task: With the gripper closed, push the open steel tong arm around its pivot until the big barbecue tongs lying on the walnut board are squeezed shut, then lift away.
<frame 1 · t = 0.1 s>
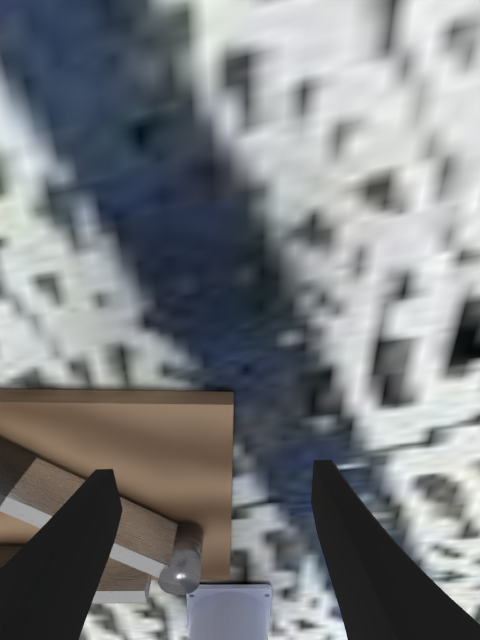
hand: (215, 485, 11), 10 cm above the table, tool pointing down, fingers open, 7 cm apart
tong arm: (81, 511, 21), point 3 cm above the table, hinge at -35.0°
fixed tong arm: (186, 531, 24), resting on walnut board
walnut board: (80, 486, 25), on the table
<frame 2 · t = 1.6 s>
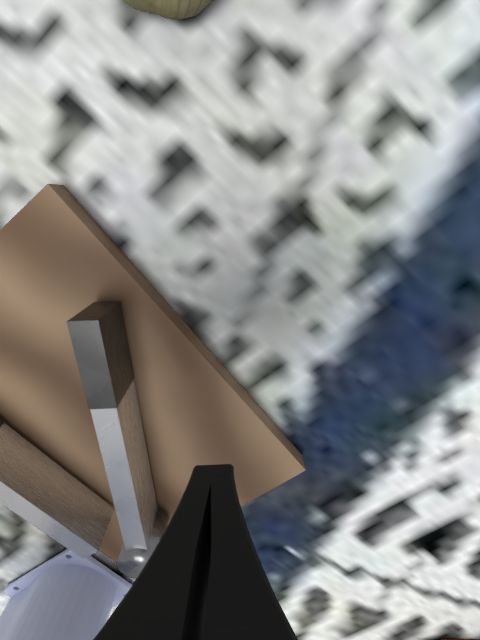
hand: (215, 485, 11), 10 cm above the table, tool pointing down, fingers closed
tong arm: (126, 453, 19), point 3 cm above the table, hinge at -35.0°
fixed tong arm: (151, 515, 24), resting on walnut board
walnut board: (106, 412, 22), on the table
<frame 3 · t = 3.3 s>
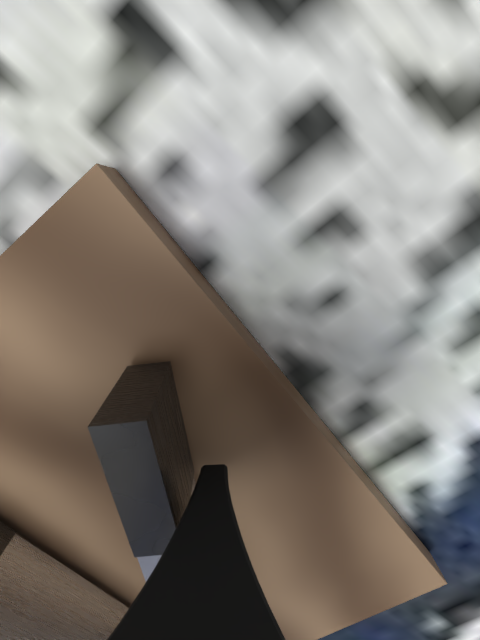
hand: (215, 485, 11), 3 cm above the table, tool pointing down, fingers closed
tong arm: (189, 588, 12), point 3 cm above the table, hinge at -30.7°, touching gripper
fixed tong arm: (219, 639, 17), resting on walnut board
walnut board: (160, 502, 15), on the table
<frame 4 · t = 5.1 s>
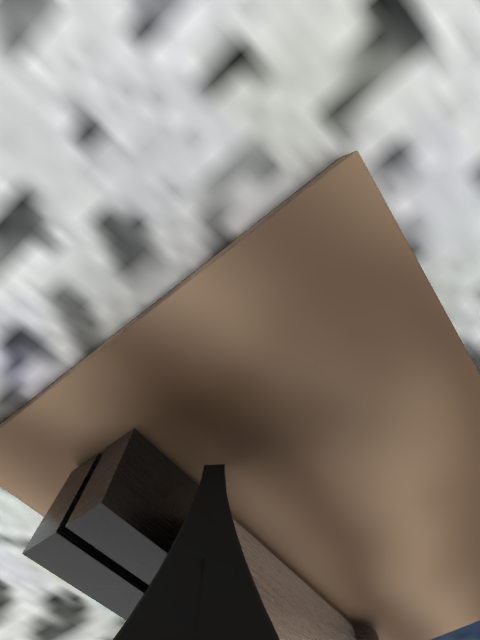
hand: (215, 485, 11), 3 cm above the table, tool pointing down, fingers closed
tong arm: (269, 606, 13), point 3 cm above the table, hinge at 0.3°, touching gripper
fixed tong arm: (350, 632, 17), resting on walnut board
walnut board: (306, 495, 15), on the table
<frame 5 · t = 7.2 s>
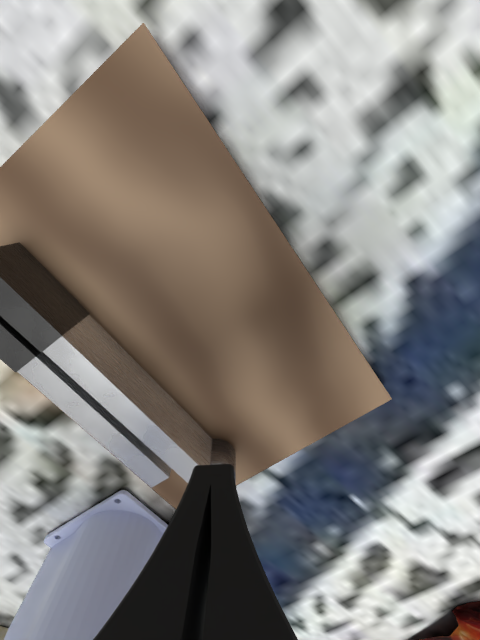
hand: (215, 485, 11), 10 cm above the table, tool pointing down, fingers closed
tong arm: (126, 389, 18), point 3 cm above the table, hinge at 0.6°
fixed tong arm: (215, 451, 22), resting on walnut board
walnut board: (173, 330, 20), on the table
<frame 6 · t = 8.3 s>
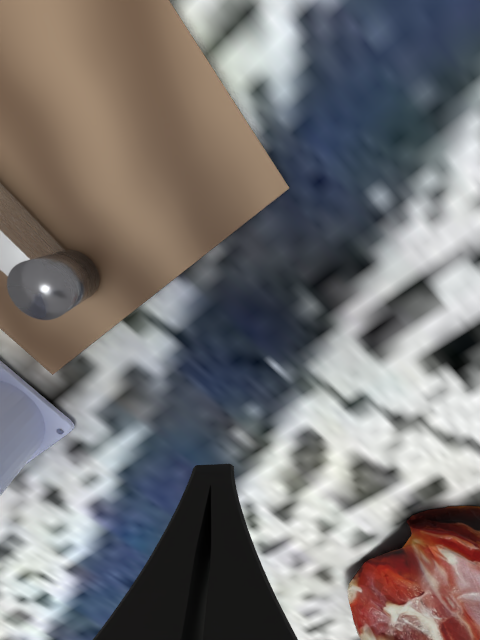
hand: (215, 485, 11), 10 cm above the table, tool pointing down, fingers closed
meat: (444, 570, 30), on the table
walnut board: (3, 99, 16), on the table
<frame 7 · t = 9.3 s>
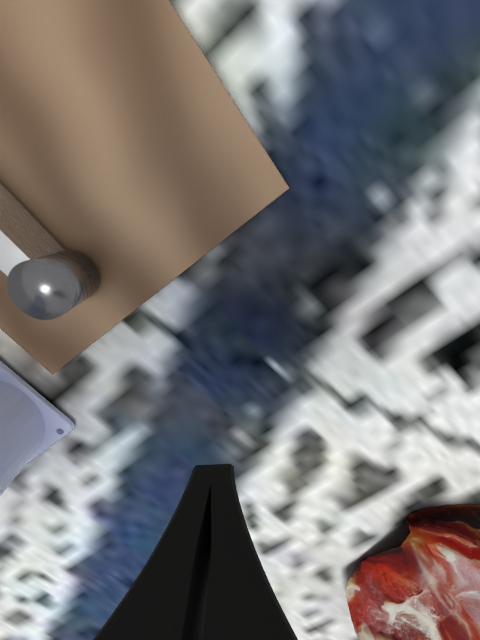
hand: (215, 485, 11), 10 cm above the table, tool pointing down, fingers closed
meat: (442, 569, 30), on the table
walnut board: (3, 99, 16), on the table
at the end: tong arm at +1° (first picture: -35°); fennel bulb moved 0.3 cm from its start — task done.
